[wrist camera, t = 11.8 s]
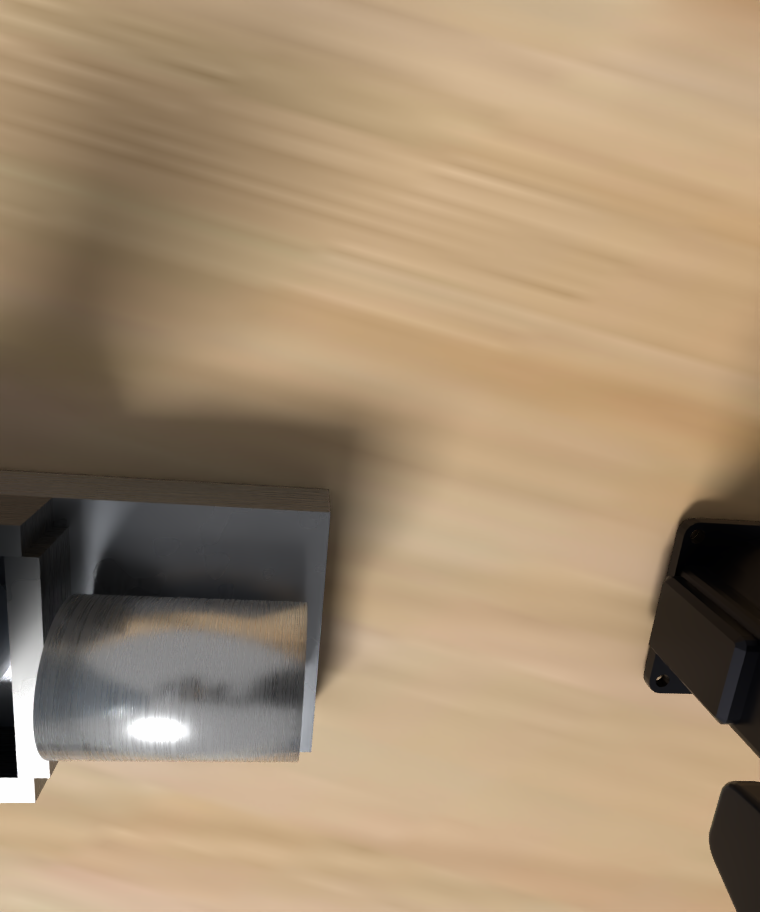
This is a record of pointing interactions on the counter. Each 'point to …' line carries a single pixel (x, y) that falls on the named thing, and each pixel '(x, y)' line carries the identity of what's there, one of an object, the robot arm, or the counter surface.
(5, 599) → the dome-capped cylinder
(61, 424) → the counter surface
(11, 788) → the dark grey open box
